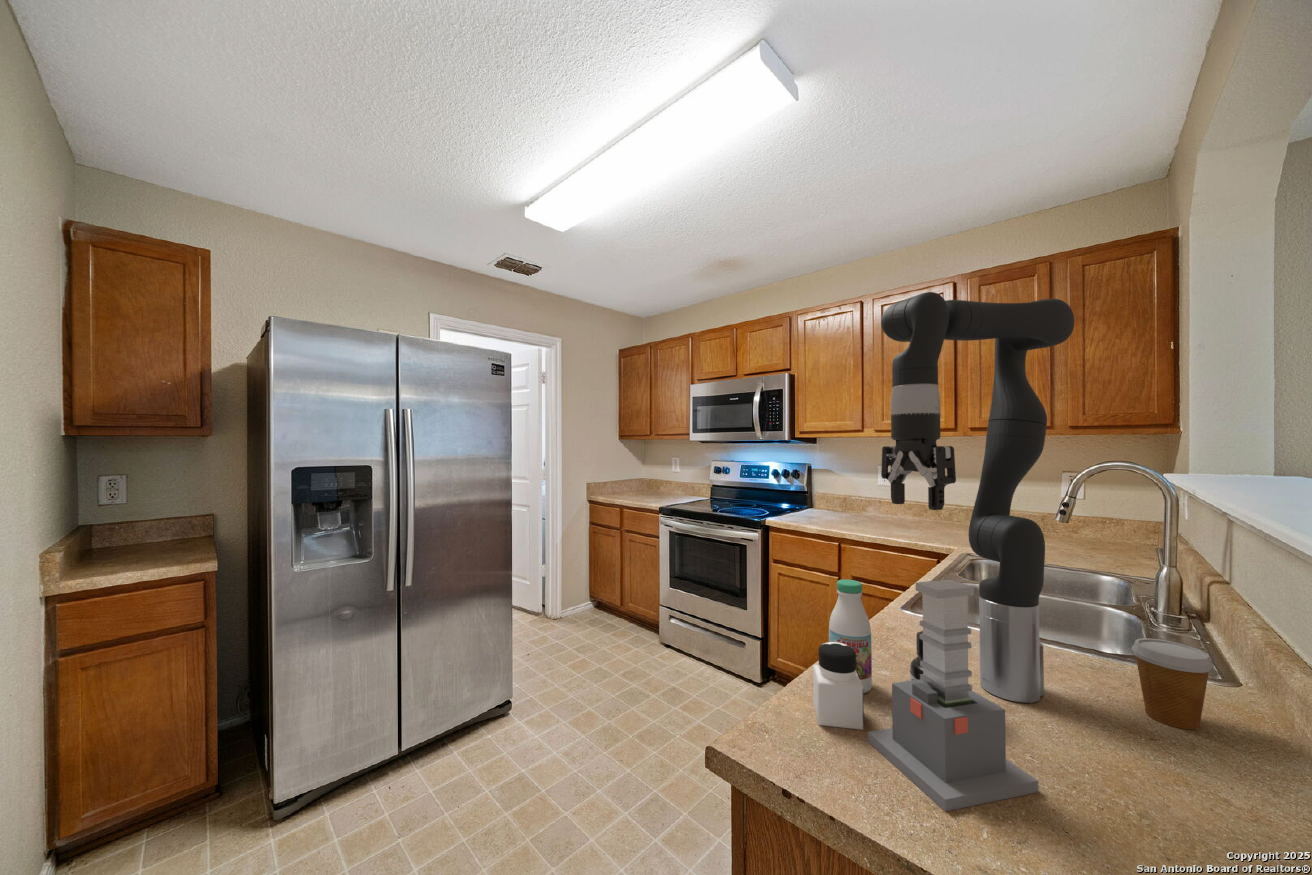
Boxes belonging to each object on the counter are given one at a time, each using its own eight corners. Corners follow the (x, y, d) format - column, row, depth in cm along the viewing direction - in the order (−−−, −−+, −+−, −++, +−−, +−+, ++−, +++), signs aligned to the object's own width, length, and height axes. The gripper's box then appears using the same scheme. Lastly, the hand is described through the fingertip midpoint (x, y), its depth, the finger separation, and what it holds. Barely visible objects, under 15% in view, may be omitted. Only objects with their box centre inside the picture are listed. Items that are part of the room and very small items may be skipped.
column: (950, 699, 74) (949, 579, 74) (977, 715, 69) (975, 587, 69) (915, 704, 72) (914, 581, 72) (940, 721, 68) (938, 590, 68)
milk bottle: (822, 676, 98) (821, 577, 98) (859, 674, 98) (858, 576, 99) (840, 696, 90) (839, 588, 90) (879, 694, 90) (879, 587, 91)
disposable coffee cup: (1193, 711, 85) (1192, 642, 85) (1229, 741, 76) (1227, 664, 76) (1122, 699, 89) (1121, 633, 89) (1148, 727, 80) (1147, 654, 80)
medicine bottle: (864, 730, 79) (863, 656, 79) (818, 725, 80) (818, 653, 80) (855, 707, 86) (854, 639, 86) (813, 703, 87) (812, 636, 87)
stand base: (947, 728, 79) (946, 658, 80) (1038, 791, 65) (1037, 705, 65) (867, 741, 76) (867, 667, 76) (945, 811, 61) (944, 720, 62)
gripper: (968, 409, 77) (969, 511, 77) (903, 415, 91) (904, 501, 91) (928, 409, 75) (930, 513, 75) (868, 414, 89) (869, 502, 89)
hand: (916, 506), depth 83 cm, fingers open, 8 cm apart
